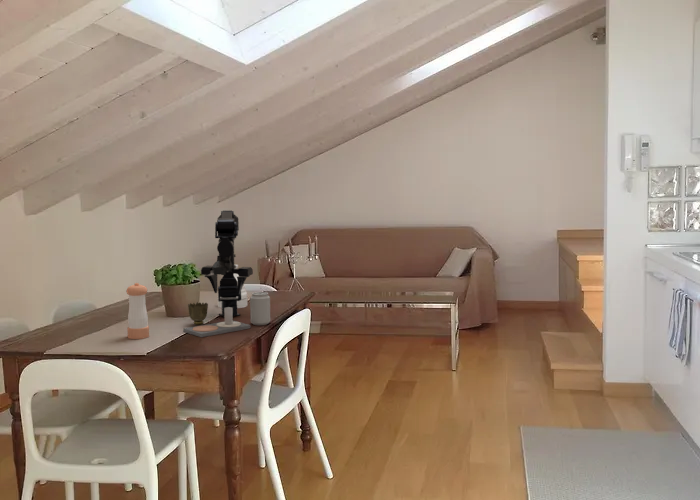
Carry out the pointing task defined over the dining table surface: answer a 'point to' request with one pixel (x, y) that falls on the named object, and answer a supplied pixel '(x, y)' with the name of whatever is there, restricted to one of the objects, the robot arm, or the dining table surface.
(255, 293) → the can
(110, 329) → the dining table surface
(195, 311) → the decorative vase
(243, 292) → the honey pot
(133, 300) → the pepper shaker
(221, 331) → the board
